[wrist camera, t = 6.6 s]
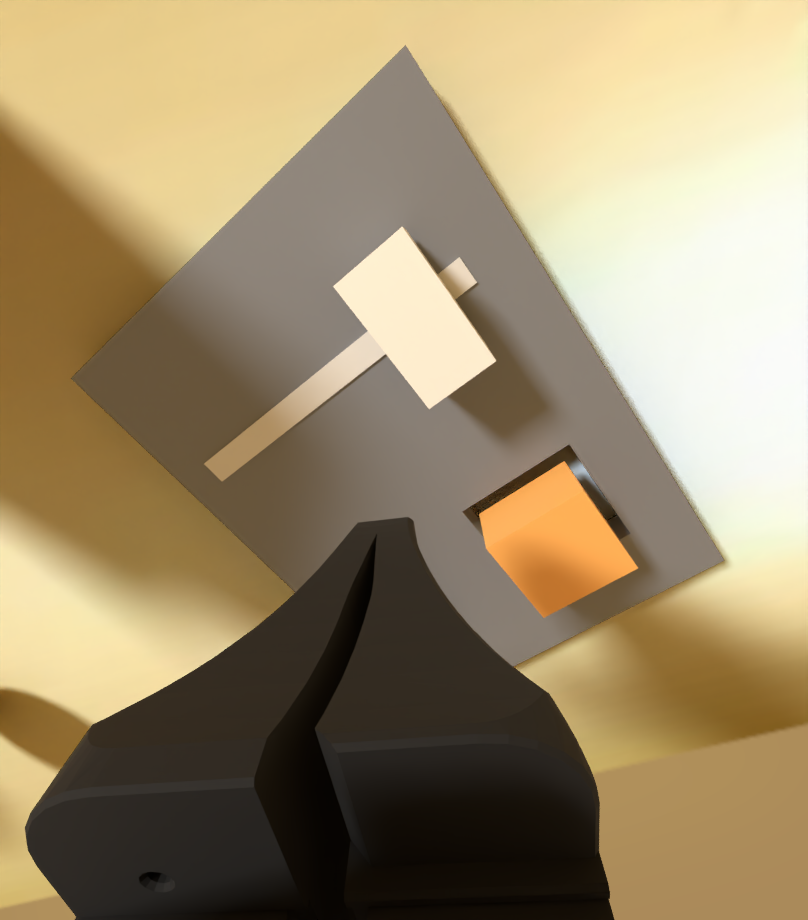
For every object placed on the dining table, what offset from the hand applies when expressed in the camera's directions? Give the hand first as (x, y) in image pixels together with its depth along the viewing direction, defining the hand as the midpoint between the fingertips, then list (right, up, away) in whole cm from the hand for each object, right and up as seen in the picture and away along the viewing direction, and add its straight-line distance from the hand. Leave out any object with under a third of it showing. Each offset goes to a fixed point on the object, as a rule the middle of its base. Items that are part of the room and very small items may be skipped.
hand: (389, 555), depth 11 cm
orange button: (+6, 0, +8) cm, 10 cm away
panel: (+1, +2, +9) cm, 9 cm away
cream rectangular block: (+1, +7, +5) cm, 9 cm away
